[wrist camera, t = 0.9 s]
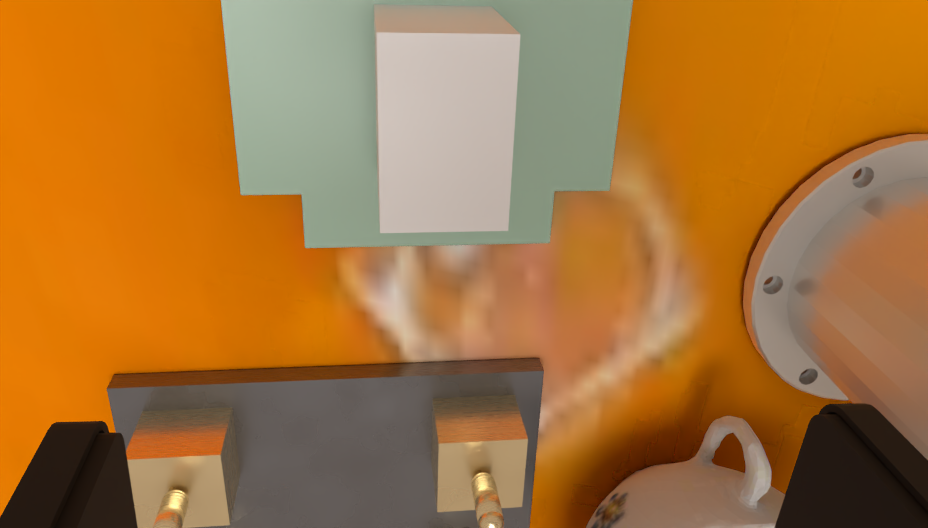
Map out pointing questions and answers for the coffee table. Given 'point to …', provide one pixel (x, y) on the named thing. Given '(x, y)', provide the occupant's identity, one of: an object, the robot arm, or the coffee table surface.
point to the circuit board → (335, 112)
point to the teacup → (698, 489)
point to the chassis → (333, 445)
